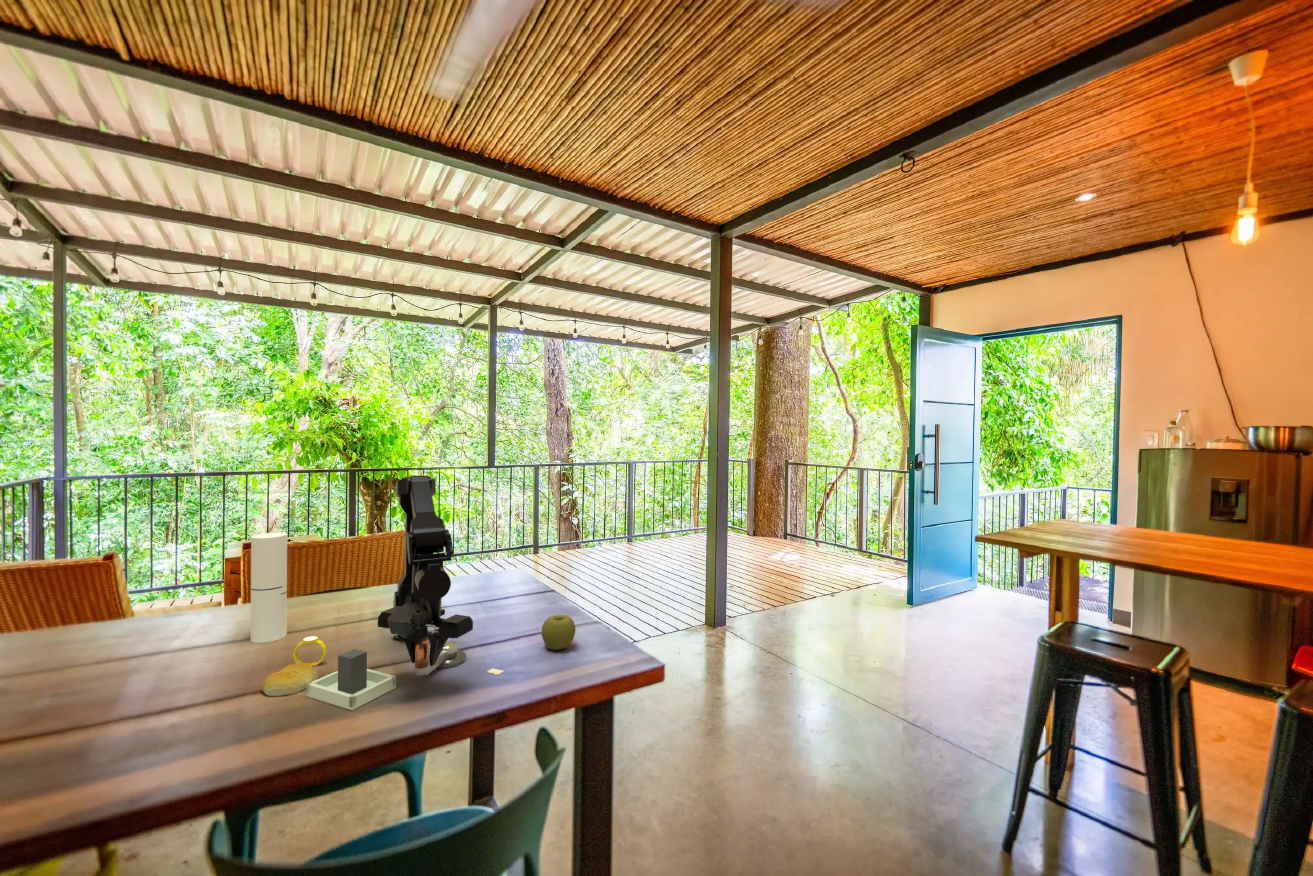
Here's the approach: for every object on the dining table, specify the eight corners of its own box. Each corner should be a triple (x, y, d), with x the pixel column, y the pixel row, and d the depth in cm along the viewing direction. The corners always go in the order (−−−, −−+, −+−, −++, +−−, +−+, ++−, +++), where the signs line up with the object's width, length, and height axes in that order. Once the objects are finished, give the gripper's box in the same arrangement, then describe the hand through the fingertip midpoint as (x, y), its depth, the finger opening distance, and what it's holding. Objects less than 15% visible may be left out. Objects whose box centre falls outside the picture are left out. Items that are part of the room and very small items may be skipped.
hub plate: (418, 664, 118) (418, 660, 118) (446, 651, 126) (446, 647, 126) (446, 671, 115) (447, 667, 115) (473, 657, 123) (473, 653, 123)
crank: (442, 650, 123) (442, 621, 123) (460, 652, 122) (461, 622, 122) (407, 677, 110) (408, 644, 110) (428, 679, 109) (428, 645, 109)
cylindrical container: (243, 640, 131) (244, 536, 130) (274, 630, 137) (274, 531, 137) (263, 645, 128) (263, 539, 128) (293, 634, 135) (293, 534, 134)
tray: (352, 710, 99) (352, 697, 99) (306, 696, 104) (306, 684, 104) (396, 687, 108) (396, 676, 108) (352, 675, 113) (352, 664, 113)
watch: (326, 662, 120) (329, 635, 120) (322, 668, 117) (325, 640, 117) (295, 663, 118) (298, 636, 118) (290, 669, 115) (293, 641, 115)
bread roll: (252, 695, 104) (252, 675, 104) (292, 675, 113) (292, 656, 113) (287, 700, 103) (287, 679, 103) (326, 679, 111) (326, 660, 111)
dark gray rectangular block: (337, 691, 105) (338, 655, 105) (354, 683, 108) (354, 648, 108) (350, 695, 104) (350, 658, 103) (366, 687, 107) (366, 652, 107)
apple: (568, 655, 124) (568, 624, 124) (535, 652, 126) (536, 621, 126) (579, 643, 132) (580, 613, 132) (548, 640, 134) (549, 611, 133)
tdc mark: (486, 673, 115) (486, 671, 115) (492, 669, 117) (492, 668, 117) (498, 675, 114) (498, 674, 114) (503, 672, 115) (503, 671, 115)
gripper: (357, 591, 105) (354, 672, 105) (441, 603, 100) (437, 688, 100) (399, 578, 116) (395, 651, 115) (476, 588, 111) (472, 665, 111)
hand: (423, 664), depth 110 cm, fingers open, 4 cm apart
